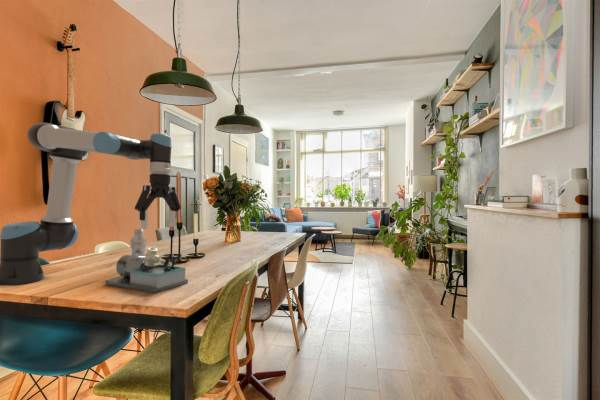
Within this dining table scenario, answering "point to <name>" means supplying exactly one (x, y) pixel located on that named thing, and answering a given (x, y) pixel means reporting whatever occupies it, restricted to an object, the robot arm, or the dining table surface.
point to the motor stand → (146, 275)
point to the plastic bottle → (138, 243)
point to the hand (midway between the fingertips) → (158, 227)
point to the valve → (158, 259)
